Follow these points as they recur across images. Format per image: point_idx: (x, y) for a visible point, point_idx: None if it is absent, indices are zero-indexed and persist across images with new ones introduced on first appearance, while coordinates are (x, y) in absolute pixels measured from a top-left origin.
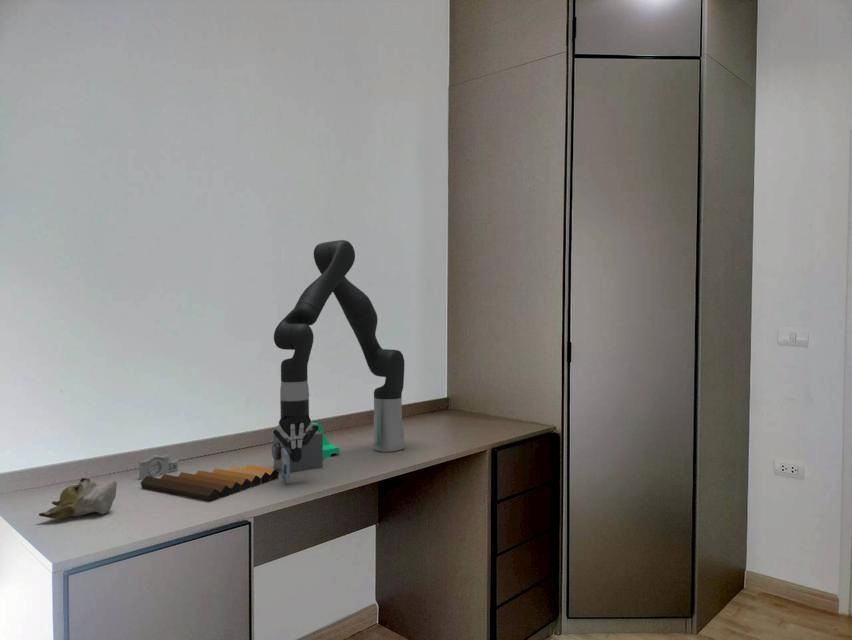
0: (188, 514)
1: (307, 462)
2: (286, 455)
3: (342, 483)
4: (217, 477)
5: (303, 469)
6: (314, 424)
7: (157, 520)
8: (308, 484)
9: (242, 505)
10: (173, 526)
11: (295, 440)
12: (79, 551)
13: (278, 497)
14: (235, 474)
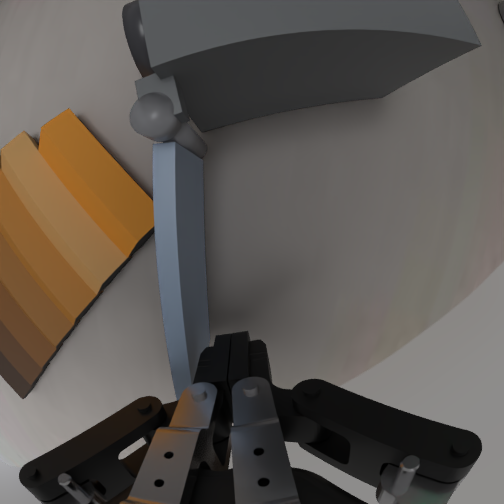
0: (33, 429)
1: (326, 95)
2: (177, 378)
3: (389, 355)
4: None
5: (298, 108)
6: (467, 471)
7: (10, 426)
8: (282, 344)
9: None
10: None
11: (235, 422)
12: (4, 457)
13: None
14: (16, 249)
